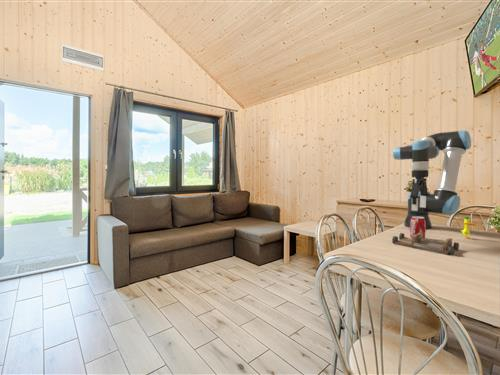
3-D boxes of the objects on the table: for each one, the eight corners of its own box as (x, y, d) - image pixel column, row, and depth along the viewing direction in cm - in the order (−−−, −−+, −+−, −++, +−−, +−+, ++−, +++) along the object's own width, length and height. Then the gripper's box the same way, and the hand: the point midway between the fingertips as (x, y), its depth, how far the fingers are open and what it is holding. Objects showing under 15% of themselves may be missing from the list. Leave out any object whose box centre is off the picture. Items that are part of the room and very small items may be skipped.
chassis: (401, 238, 140) (402, 229, 140) (458, 249, 122) (459, 238, 121) (391, 243, 132) (392, 233, 132) (451, 255, 113) (452, 244, 113)
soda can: (424, 241, 136) (425, 218, 135) (409, 239, 140) (409, 217, 139) (425, 238, 142) (426, 216, 141) (410, 236, 146) (411, 215, 145)
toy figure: (475, 238, 139) (477, 217, 138) (475, 240, 136) (477, 218, 135) (459, 236, 143) (461, 215, 143) (459, 238, 141) (460, 216, 140)
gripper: (419, 169, 148) (418, 205, 150) (403, 170, 132) (402, 211, 134) (435, 169, 143) (433, 206, 144) (420, 170, 127) (419, 212, 128)
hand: (418, 208), depth 139 cm, fingers open, 13 cm apart
